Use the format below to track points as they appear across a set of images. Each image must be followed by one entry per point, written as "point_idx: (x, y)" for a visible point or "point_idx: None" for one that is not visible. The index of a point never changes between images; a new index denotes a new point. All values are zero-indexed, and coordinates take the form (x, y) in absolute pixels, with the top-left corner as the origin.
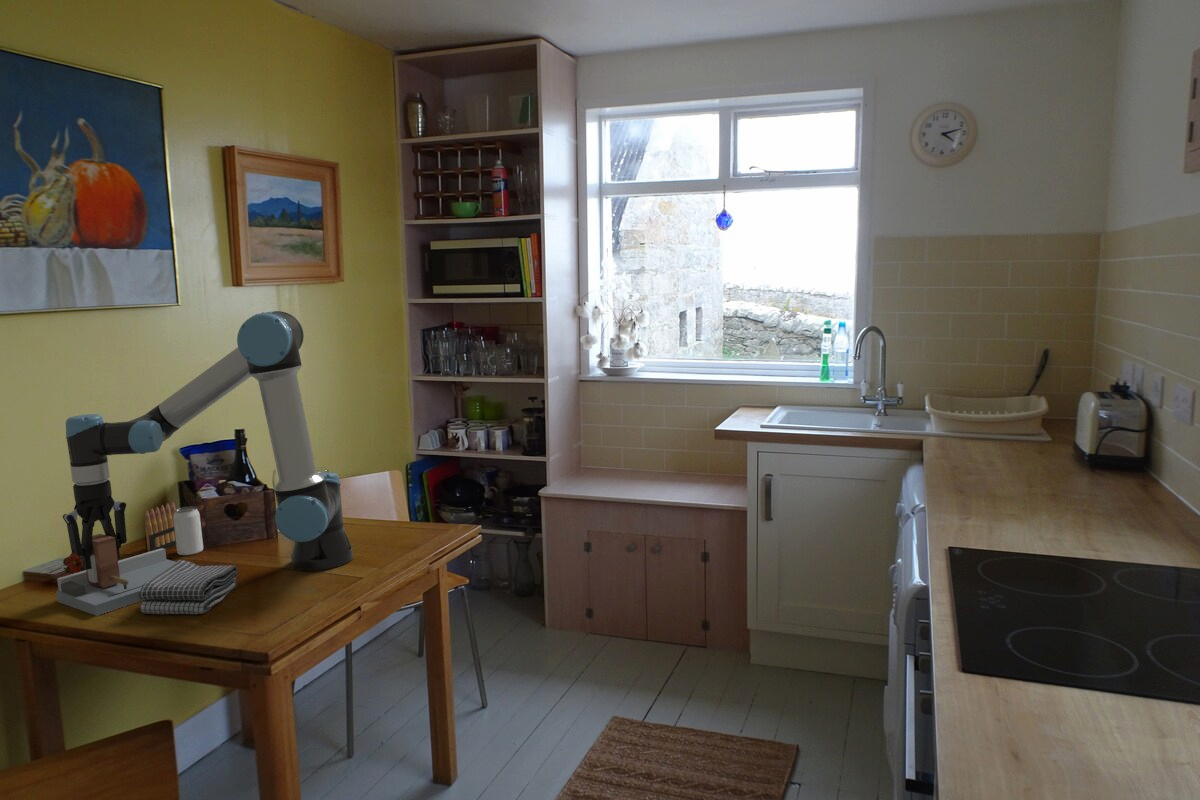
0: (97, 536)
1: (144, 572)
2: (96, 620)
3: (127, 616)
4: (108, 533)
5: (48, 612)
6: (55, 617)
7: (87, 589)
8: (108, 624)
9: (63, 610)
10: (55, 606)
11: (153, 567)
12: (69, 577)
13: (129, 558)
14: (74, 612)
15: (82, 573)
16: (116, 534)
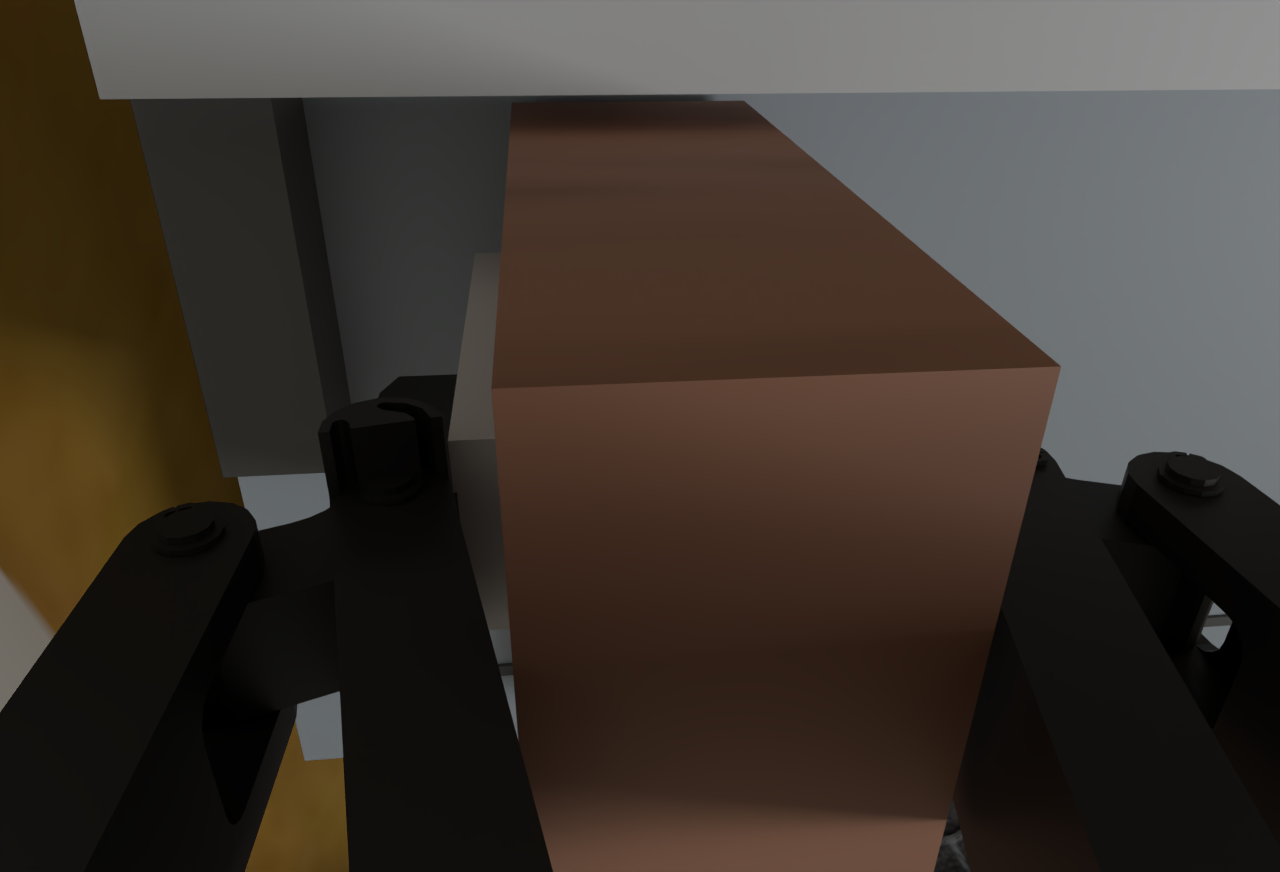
0: (819, 612)
1: (1088, 278)
2: (289, 754)
3: None
4: (984, 834)
5: (5, 235)
6: (41, 442)
7: (430, 277)
8: (320, 863)
9: (148, 318)
10: (108, 99)
11: (1263, 191)
12: (248, 97)
13: (1234, 28)
14: (216, 464)
15: (459, 93)
16: (1223, 592)
